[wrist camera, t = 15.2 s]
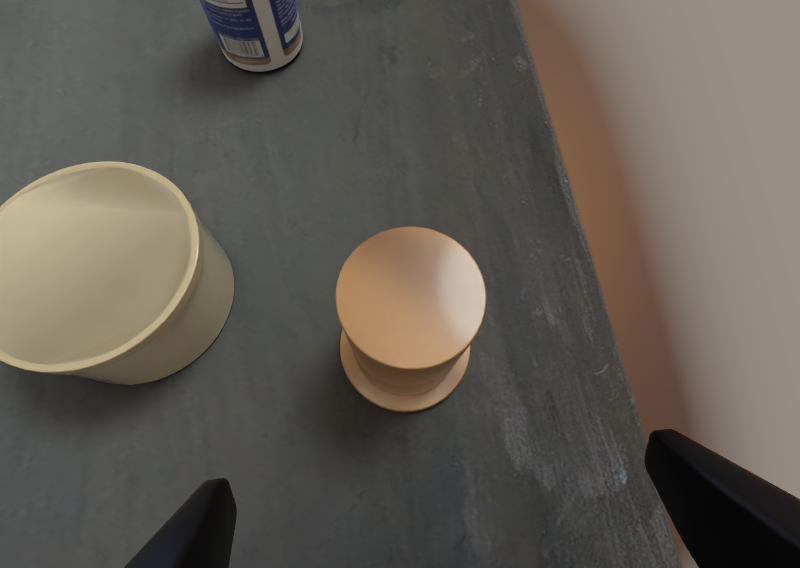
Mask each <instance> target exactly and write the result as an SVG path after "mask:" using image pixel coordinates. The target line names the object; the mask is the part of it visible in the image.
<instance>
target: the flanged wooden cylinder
mask: <svg viewBox="0 0 800 568" xmlns="http://www.w3.org/2000/svg"><path fill="white" fill-rule="evenodd" d="M486 306H487V293H486V286H485V282H484V278H483V276H482V273H481V271H480V268H479V267H478V265H477V263H476V261H475V260H474V259H473V257H472V256H471V255H470V253H469V252H468V251H467V250H466V249H465V248H464V247H463V246H461V245H460V244H459V243H458V242H456V241H455V240H453V239H452V238H450V237H449V236H447V235H445V234H442V233H440V232H438V231H435V230H432V229H427V228H422V227H399V228H393V229H389V230H386V231H383V232H380V233H378V234H376V235H374V236H372V237H370V238H369V239H367V240H366V241H364V242H363V243H362V244H360V245H359V246H358V247H357V248H356V249H355V250H354V251H353V252H352V254H351V255H350V256H349V257H348V259H347V260H346V262H345V264H344V265H343V267H342V270H341V272H340V274H339V278H338V281H337V286H336V308H337V313H338V317H339V320H340V323H341V325H342V328H343V329H342V332H341V338H340V356H341V361H342V365H343V368H344V371H345V373H346V375H347V377H348V379H349V381H350V382H351V384H352V385H353V387H354V388H355V389H356V390H357V391H358V392H359V393H360V394H361V395H362V396H363V397H364V398H365V399H367V400H368V401H369V402H371V403H373V404H374V405H376V406H378V407H381V408H383V409H386V410H390V411H394V412H416V411H421V410H424V409H427V408H430V407H432V406H434V405H436V404H438V403H440V402H441V401H443V400H444V399H445V398H447V397H448V396H449V395H450V394H451V393H452V392H453V391H454V390H455V389H456V387H457V386H458V385H459V383H460V382H461V380H462V379H463V377H464V374H465V372H466V370H467V367H468V363H469V358H470V344H471V343H472V341H473V340H474V338H475V337H476V335H477V334H478V332H479V330H480V328H481V326H482V323H483V320H484V317H485V312H486Z"/></svg>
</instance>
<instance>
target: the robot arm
mask: <svg viewBox="0 0 800 568" xmlns="http://www.w3.org/2000/svg"><path fill="white" fill-rule="evenodd" d="M645 467H646V470H647V472H648V474H649V476H650V478H651V480H652V482H653V484H654V486H655V488H656V490H657V492H658V494H659V496H660V498H661V500H662V502H663V504H664V506H665V508H666V510H667V512H668V514H669V516H670V518H671V519H672V522H673V524H674V526H675V527H676V529H677V531H678V533H679V535H680V537H681V539H682V541H683V542H684V544H685V546H686V547H687V549H688V551H689V552H690V554H691V556H692V557H693V559H694V560H695V562H696V564H697V565H698V567H699V568H800V499H798V498H797V497H795V496H793V495H791V494H789V493H787V492H786V491H784V490H782V489H780V488H779V487H777V486H775V485H773V484H771V483H769V482H768V481H766V480H764V479H762V478H760V477H758V476H757V475H755V474H753V473H751V472H749V471H748V470H746V469H744V468H742V467H740V466H738V465H737V464H735V463H733V462H731V461H730V460H728V459H726V458H724V457H722V456H720V455H719V454H717V453H715V452H713V451H711V450H709V449H708V448H706V447H704V446H702V445H701V444H699V443H697V442H695V441H693V440H691V439H690V438H688V437H686V436H684V435H682V434H681V433H679V432H677V431H675V430H672V429H664V430H655V431H653V432H652V433H651V434H650V436H649V441H648V445H647V449H646V454H645ZM236 515H237V509H236V504H235V500H234V497H233V494H232V491H231V488H230V484H229V482H228V480H227V479H224V478H222V479H213V480H207V481H205V482H204V483H203V484H202V485H201V486H200V487H199V488H198V489H197V490H196V491H195V492H194V493H193V494H192V495H191V497H190V498H189V499H188V500H187V501H186V502H185V503H184V504H183V505H182V506H181V507H180V508H179V509H178V510H177V512H176V513H175V514H174V515H173V516H172V517H171V518H170V519H169V520H168V521H167V522H166V523H165V524H164V525H163V527H162V528H161V529H160V530H159V531H158V532H157V533H156V534H155V535H154V536H153V537H152V538H151V539H150V540H149V542H148V543H147V544H146V545H145V546H144V547H143V548H142V549H141V550H140V551H139V552H138V553H137V554H136V555H135V557H134V558H133V559H132V560H131V561H130V562H129V563H128V564H127V565H126V566H125V567H124V568H228V567H229V561H230V554H231V548H232V542H233V536H234V529H235V523H236Z"/></svg>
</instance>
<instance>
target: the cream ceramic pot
mask: <svg viewBox="0 0 800 568" xmlns="http://www.w3.org/2000/svg"><path fill="white" fill-rule="evenodd" d="M233 295H234V277H233V270H232V267H231V263H230V261H229V259H228V256H227V254H226V252H225V251H224V249H223V248H222V246H221V245H220V244H219V243H218V241H217V240H216V239H215V238H214V237H213V236H212V234H211V233H210V232H209V231H208V230H207V228H206V227H205V226H204V225H203V224H202V223H201V221H200V220H199V218H198V216H197V213H196V211H195V209H194V208H193V206H192V205H191V203H190V202H189V200H188V199H187V198H186V196H185V195H184V194H183V193H182V192H181V191H180V190H179V189H178V188H177V187H176V185H174V184H173V183H172V182H171V181H169V180H168V179H167V178H165V177H164V176H162V175H160V174H158V173H157V172H155V171H152V170H150V169H147V168H145V167H142V166H138V165H134V164H130V163H122V162H93V163H86V164H80V165H75V166H72V167H68V168H65V169H61V170H59V171H56V172H54V173H51V174H49V175H46V176H44V177H42V178H40V179H38V180H36V181H34V182H33V183H31V184H29V185H28V186H26V187H25V188H23V189H22V190H20V191H19V192H17V193H16V194H15V195H13V196H12V197H11V198H10V199H8V200H7V201H6V202H5V203H4V204H3V205H2V206H1V207H0V360H1V361H3V362H5V363H7V364H9V365H11V366H14V367H17V368H21V369H24V370H28V371H33V372H38V373H45V374H61V375H68V374H71V375H75V376H80V377H84V378H89V379H93V380H97V381H102V382H106V383H112V384H119V385H134V384H142V383H147V382H151V381H156V380H159V379H161V378H164V377H167V376H169V375H171V374H173V373H175V372H177V371H179V370H181V369H183V368H184V367H186V366H187V365H189V364H190V363H192V362H193V361H194V360H195V359H197V358H198V357H199V356H200V355H201V354H202V353H203V352H204V351H205V350H206V349H207V348H208V347H209V346H210V345H211V344H212V343H213V341H214V340H215V339H216V337H217V336H218V335H219V333H220V331H221V330H222V328H223V326H224V324H225V322H226V320H227V318H228V315H229V313H230V309H231V306H232V302H233Z"/></svg>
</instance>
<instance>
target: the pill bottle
mask: <svg viewBox="0 0 800 568" xmlns="http://www.w3.org/2000/svg"><path fill="white" fill-rule="evenodd" d="M200 2H201V4H202V7H203V9H204V11H205V13H206V16H207V18H208V20H209V22H210V25H211V27H212V29H213V32H214V34H215V36H216V39H217V41H218V43H219V45H220V47H221V50H222V52H223V53H224V55H225V56H226V58H227V59H228V60H229V61H230V62H231V63H233V64H234V65H236V66H237V67H239V68H242V69H244V70H248V71H254V72H255V71H256V72H263V71H270V70H274V69H277V68H279V67H282V66H284V65H286V64H287V63H289V62H290V61H291V60H292V59H294V57H295V56H296V55H297V54H298V52H299V51H300V49H301V46H302V41H303V35H302V28H301V22H300V18H299V13H298V9H297V5H296V1H295V0H200Z"/></svg>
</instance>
